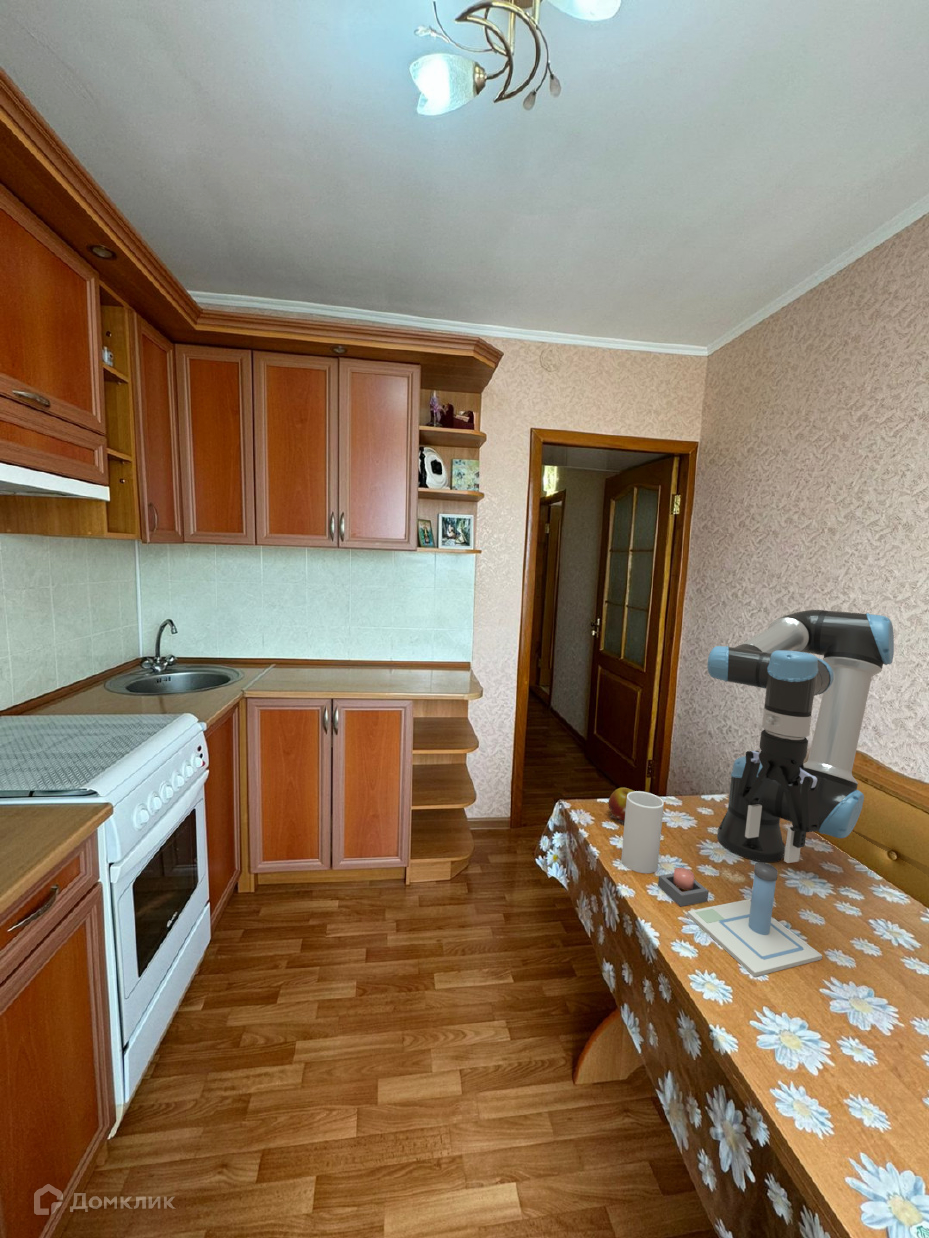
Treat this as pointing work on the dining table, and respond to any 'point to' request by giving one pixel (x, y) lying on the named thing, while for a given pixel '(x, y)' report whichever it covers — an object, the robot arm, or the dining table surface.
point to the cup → (642, 831)
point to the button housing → (683, 898)
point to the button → (683, 878)
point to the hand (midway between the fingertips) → (770, 848)
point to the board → (753, 939)
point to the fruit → (619, 802)
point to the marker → (762, 898)
